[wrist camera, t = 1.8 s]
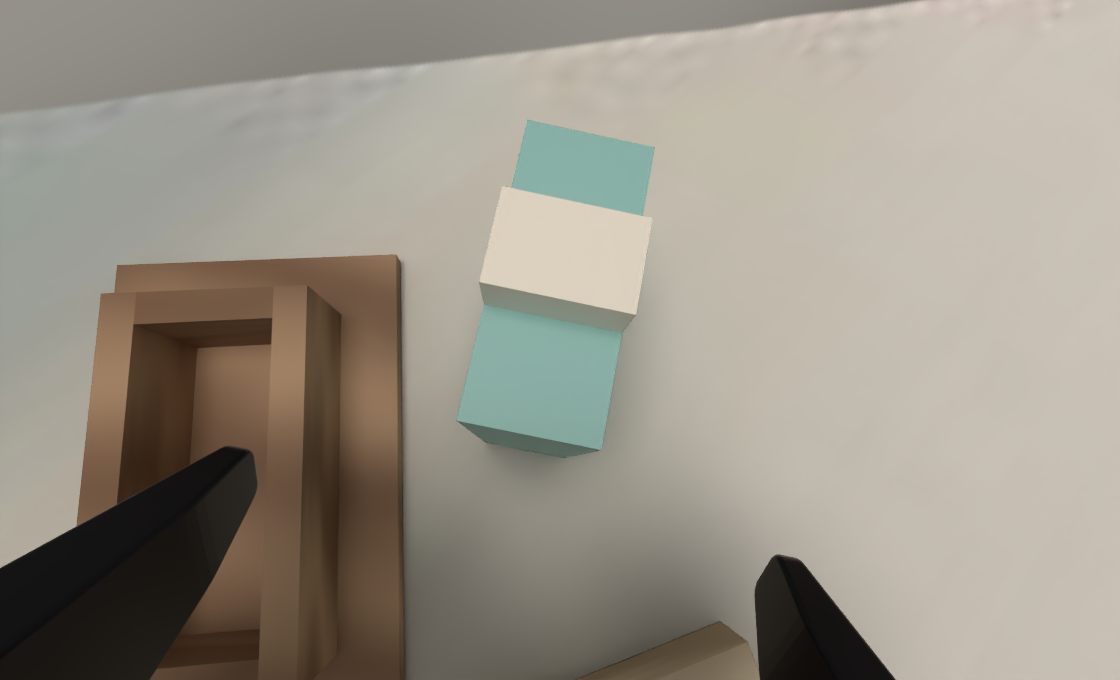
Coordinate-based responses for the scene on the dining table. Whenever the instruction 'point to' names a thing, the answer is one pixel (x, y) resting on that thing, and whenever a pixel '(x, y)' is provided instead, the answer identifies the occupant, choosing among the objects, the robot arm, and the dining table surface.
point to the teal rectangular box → (558, 291)
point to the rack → (267, 452)
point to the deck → (689, 659)
